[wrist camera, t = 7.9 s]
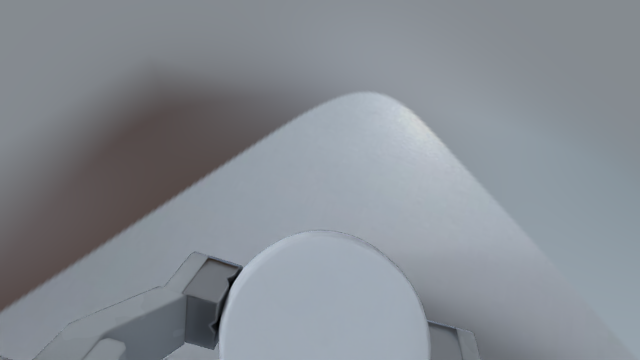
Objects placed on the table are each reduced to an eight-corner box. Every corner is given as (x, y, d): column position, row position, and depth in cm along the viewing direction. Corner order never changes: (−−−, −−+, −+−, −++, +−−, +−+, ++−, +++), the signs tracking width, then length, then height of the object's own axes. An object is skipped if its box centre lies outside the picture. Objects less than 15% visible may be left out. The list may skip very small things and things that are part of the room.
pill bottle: (281, 415, 14) (233, 587, 6) (235, 285, 16) (141, 269, 7) (403, 354, 15) (521, 425, 6) (348, 235, 16) (385, 166, 8)
